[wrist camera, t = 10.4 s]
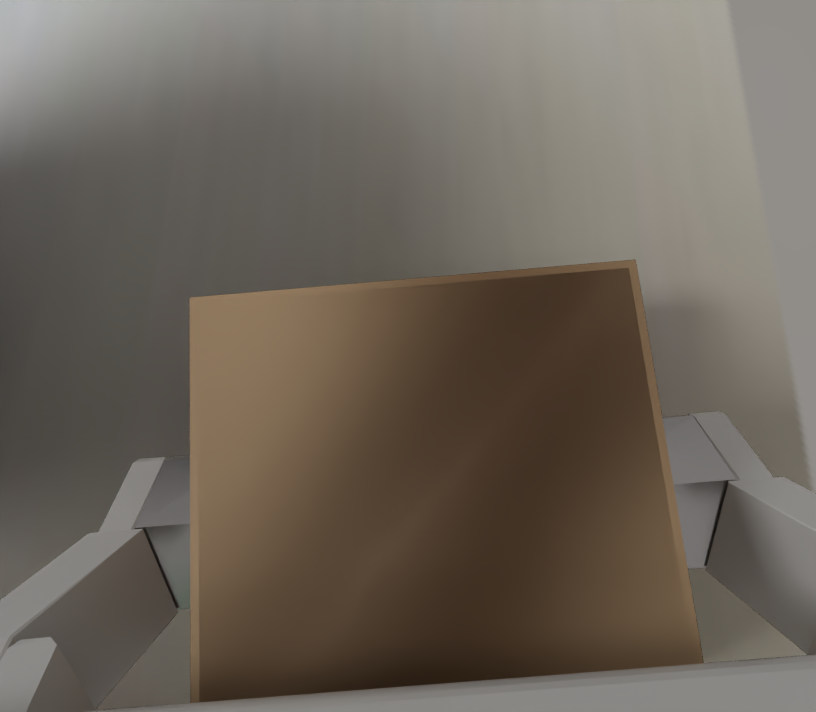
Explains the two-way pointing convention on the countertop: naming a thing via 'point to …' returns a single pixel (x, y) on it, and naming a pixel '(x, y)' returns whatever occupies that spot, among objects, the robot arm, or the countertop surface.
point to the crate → (430, 485)
